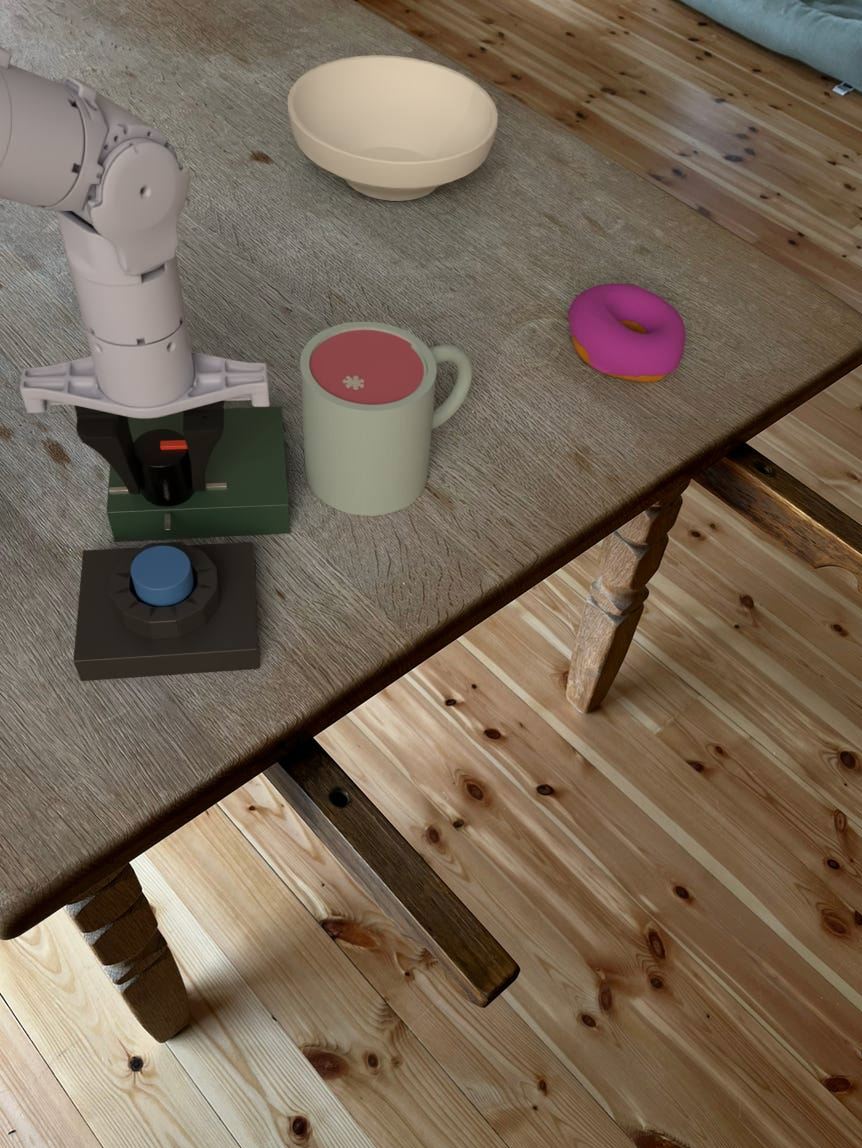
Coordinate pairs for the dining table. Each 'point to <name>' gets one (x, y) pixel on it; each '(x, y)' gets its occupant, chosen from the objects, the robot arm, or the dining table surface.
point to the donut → (627, 332)
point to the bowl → (392, 123)
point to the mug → (373, 414)
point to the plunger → (162, 575)
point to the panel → (214, 484)
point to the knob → (163, 467)
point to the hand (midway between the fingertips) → (167, 482)
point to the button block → (167, 616)
